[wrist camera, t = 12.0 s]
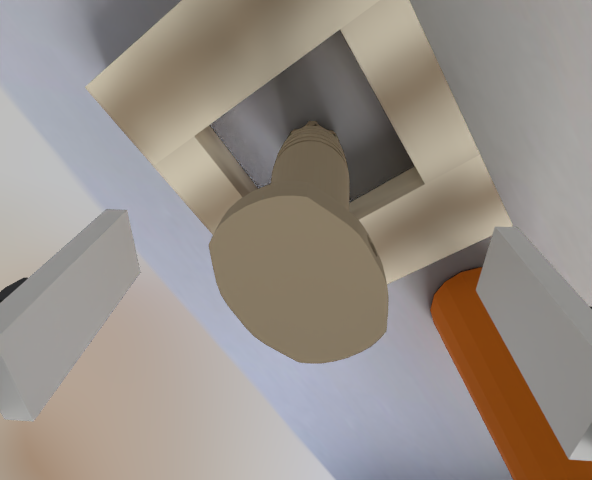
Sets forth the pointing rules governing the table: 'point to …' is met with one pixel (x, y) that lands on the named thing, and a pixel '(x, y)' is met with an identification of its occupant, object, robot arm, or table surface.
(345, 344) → the handle
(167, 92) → the board
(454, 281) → the spray bottle
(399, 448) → the table surface
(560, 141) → the table surface
